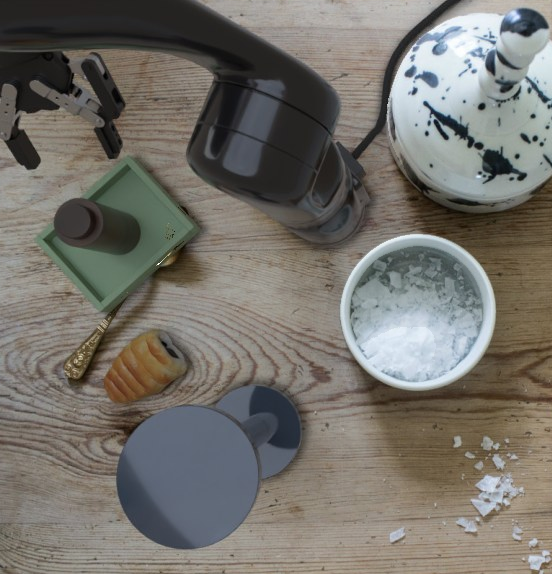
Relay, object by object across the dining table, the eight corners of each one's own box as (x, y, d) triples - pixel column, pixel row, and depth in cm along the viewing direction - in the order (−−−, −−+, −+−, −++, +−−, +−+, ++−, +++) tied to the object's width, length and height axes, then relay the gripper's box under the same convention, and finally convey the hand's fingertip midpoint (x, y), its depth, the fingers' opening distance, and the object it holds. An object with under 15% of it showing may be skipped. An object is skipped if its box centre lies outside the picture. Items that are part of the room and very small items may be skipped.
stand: (259, 359, 73) (192, 375, 52) (327, 433, 73) (288, 480, 52) (184, 428, 72) (85, 473, 51) (252, 503, 72) (181, 580, 51)
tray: (136, 159, 74) (127, 154, 72) (201, 229, 74) (194, 226, 71) (45, 241, 73) (32, 239, 71) (109, 312, 73) (99, 312, 71)
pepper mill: (147, 219, 73) (105, 205, 63) (131, 261, 73) (87, 252, 63) (105, 205, 73) (58, 189, 63) (90, 246, 73) (40, 236, 63)
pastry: (132, 416, 72) (115, 421, 69) (97, 371, 73) (79, 374, 69) (195, 366, 73) (182, 368, 69) (160, 322, 73) (145, 322, 69)
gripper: (-118, 26, 51) (-7, 189, 62) (53, 4, 52) (134, 170, 63) (-73, -2, 57) (22, 152, 68) (81, -22, 57) (150, 134, 68)
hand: (75, 160), depth 65 cm, fingers open, 8 cm apart
